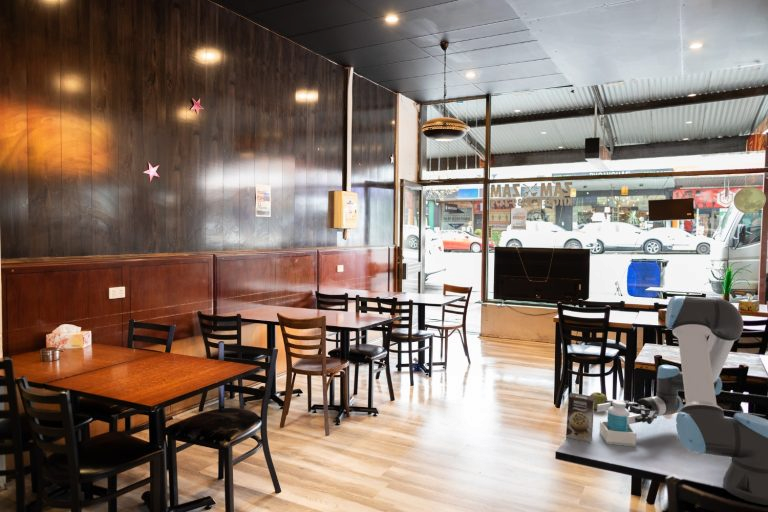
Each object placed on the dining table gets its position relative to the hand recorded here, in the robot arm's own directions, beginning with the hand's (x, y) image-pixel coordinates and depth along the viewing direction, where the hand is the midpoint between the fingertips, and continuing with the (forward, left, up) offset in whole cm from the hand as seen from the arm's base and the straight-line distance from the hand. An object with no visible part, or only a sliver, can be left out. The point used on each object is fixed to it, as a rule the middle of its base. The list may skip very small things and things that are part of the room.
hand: (612, 414), depth 195 cm
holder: (+2, -3, -10) cm, 11 cm away
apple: (+37, -4, -11) cm, 39 cm away
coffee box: (+1, +11, -11) cm, 16 cm away
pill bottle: (+2, -3, -10) cm, 10 cm away
